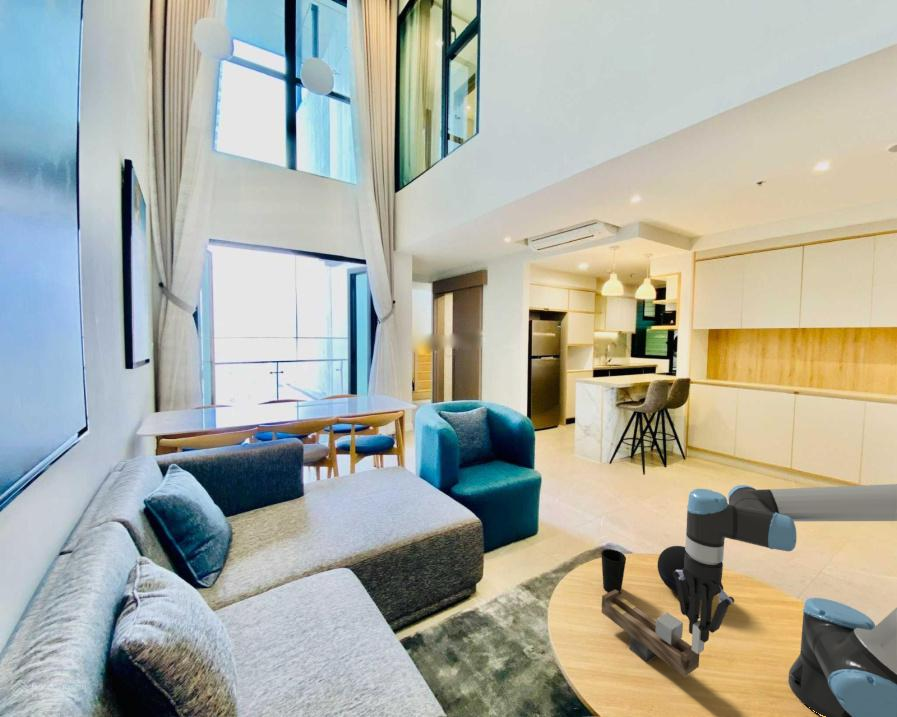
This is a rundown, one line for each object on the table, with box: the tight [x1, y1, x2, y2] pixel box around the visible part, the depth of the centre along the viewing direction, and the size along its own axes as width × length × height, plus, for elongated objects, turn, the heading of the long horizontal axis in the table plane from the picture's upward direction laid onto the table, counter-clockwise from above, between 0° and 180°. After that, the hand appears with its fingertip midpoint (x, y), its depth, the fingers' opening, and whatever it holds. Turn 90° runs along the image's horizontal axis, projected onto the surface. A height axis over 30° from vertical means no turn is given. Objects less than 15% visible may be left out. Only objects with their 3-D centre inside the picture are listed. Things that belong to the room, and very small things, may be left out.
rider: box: [655, 612, 684, 648], centre depth 97 cm, size 4×5×7 cm
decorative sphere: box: [657, 545, 690, 598], centre depth 127 cm, size 15×15×15 cm
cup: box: [600, 548, 627, 595], centre depth 128 cm, size 8×8×12 cm
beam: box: [601, 589, 700, 678], centre depth 103 cm, size 24×6×9 cm, turn 29°
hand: (697, 649), depth 91 cm, fingers closed
